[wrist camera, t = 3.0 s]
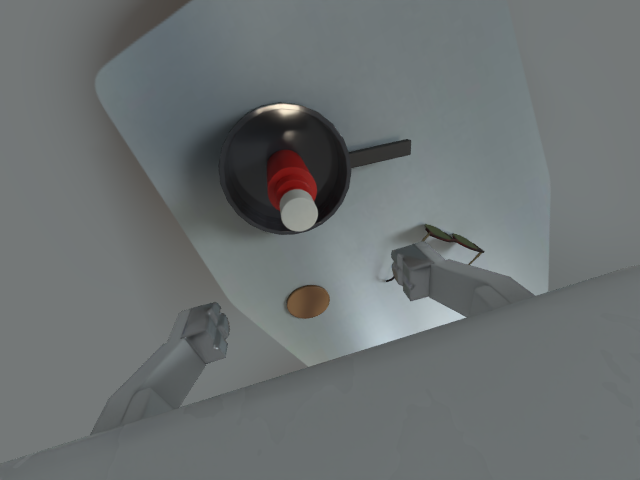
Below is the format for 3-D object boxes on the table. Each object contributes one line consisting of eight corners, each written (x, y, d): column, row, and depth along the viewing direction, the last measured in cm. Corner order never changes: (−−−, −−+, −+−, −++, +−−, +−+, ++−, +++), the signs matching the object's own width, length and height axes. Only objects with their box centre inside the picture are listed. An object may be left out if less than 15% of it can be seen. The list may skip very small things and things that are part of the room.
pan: (247, 230, 40) (245, 246, 36) (204, 117, 31) (194, 120, 27) (346, 206, 42) (356, 219, 37) (333, 91, 32) (343, 90, 28)
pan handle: (346, 166, 35) (348, 168, 34) (344, 152, 34) (347, 154, 33) (406, 153, 36) (410, 154, 35) (407, 138, 35) (411, 140, 34)
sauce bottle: (272, 191, 37) (277, 247, 23) (261, 154, 34) (260, 193, 20) (307, 183, 38) (333, 233, 24) (300, 145, 35) (324, 179, 21)
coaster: (292, 321, 53) (292, 323, 53) (282, 291, 48) (282, 293, 48) (331, 310, 54) (332, 312, 53) (325, 280, 49) (326, 282, 49)
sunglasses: (469, 238, 51) (486, 252, 47) (427, 287, 58) (438, 303, 54) (417, 220, 46) (431, 234, 42) (377, 276, 53) (386, 293, 49)
